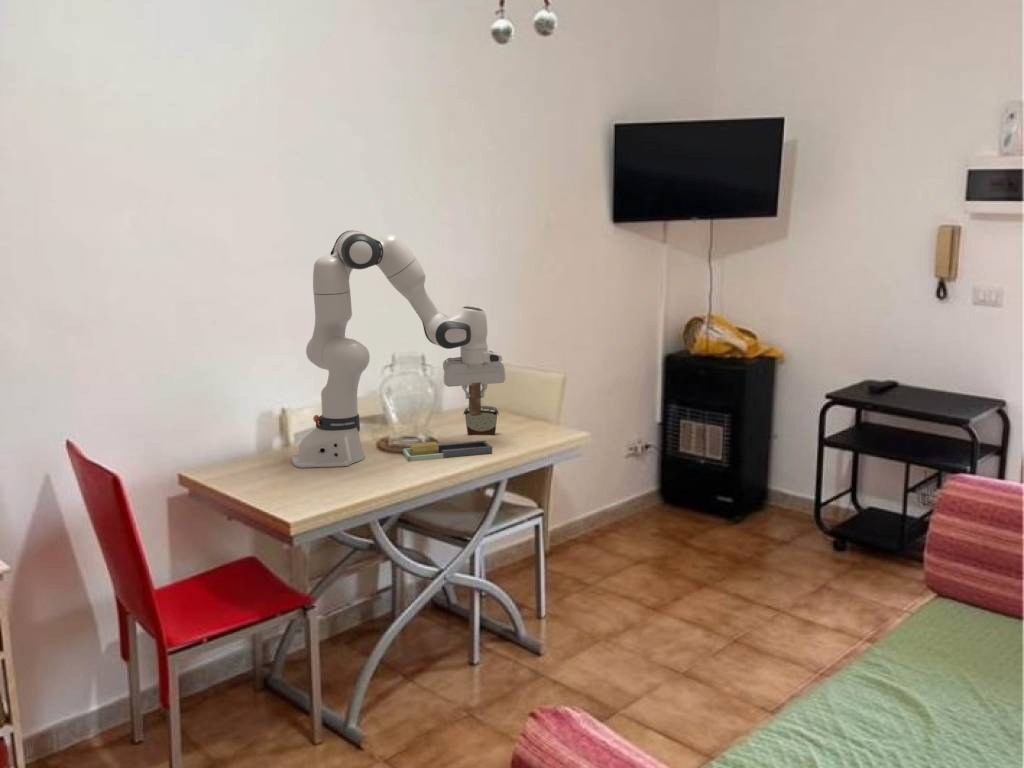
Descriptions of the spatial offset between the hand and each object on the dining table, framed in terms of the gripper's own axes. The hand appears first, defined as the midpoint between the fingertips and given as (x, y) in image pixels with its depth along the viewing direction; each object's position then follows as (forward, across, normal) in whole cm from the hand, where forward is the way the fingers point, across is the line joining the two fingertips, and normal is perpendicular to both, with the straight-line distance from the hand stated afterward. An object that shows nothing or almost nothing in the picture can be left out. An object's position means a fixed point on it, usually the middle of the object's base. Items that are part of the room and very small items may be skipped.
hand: (474, 397), depth 305 cm
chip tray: (+16, -20, -9) cm, 27 cm away
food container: (+17, +6, +13) cm, 22 cm away
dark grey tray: (+16, -6, -9) cm, 20 cm away
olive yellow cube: (+16, -17, -9) cm, 25 cm away
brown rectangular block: (+6, 0, 0) cm, 6 cm away
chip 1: (+16, -21, -9) cm, 28 cm away
